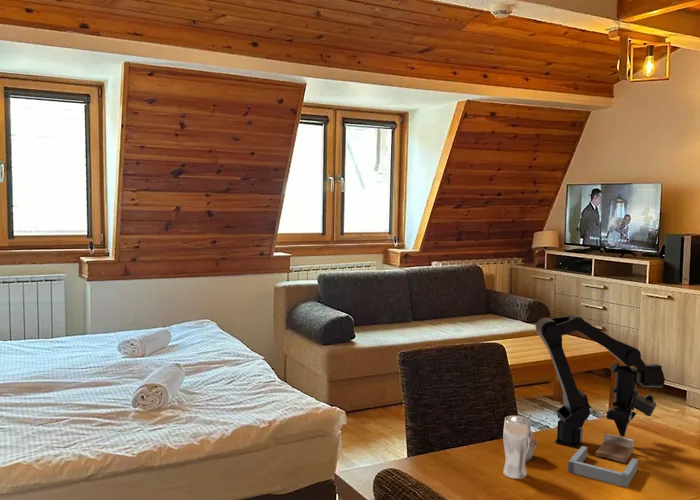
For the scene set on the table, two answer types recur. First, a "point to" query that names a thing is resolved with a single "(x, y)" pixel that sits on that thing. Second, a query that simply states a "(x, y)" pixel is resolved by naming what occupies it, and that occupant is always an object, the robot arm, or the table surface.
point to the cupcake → (531, 446)
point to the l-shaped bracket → (615, 448)
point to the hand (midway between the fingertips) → (622, 436)
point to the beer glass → (516, 446)
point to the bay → (601, 470)
